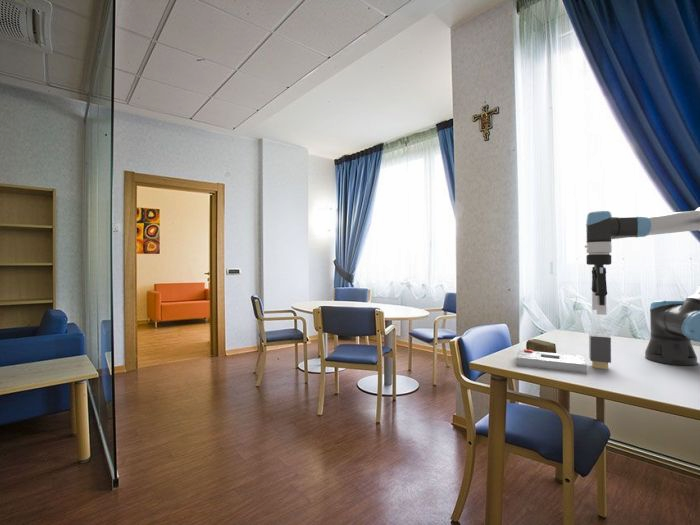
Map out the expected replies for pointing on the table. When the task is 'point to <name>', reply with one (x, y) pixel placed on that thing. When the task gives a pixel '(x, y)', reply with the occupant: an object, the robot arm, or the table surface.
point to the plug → (600, 350)
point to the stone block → (540, 346)
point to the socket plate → (551, 361)
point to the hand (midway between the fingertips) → (598, 312)
